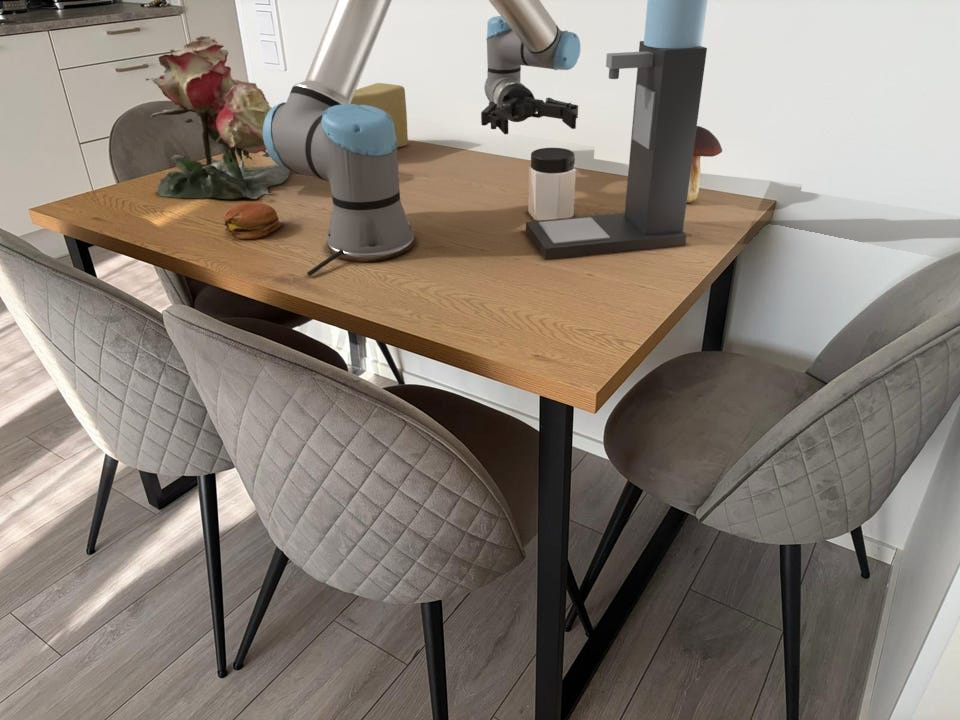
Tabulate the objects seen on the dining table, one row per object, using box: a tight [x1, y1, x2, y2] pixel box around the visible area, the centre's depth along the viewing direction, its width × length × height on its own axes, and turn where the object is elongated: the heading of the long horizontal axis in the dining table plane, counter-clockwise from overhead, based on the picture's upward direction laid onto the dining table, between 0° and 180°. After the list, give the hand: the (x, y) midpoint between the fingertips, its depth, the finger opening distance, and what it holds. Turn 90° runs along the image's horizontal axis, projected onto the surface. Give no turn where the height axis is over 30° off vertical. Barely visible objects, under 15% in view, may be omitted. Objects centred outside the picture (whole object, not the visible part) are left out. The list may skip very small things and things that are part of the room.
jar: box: [527, 147, 577, 221], centre depth 139 cm, size 9×8×12 cm
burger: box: [222, 201, 281, 240], centre depth 137 cm, size 10×9×5 cm
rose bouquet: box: [145, 35, 290, 200], centre depth 157 cm, size 26×29×30 cm
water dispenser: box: [525, 0, 708, 260], centre depth 120 cm, size 26×13×45 cm, turn 102°
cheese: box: [351, 82, 409, 149], centre depth 178 cm, size 22×10×15 cm, turn 146°
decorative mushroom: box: [687, 125, 723, 203], centre depth 143 cm, size 11×11×15 cm
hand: (540, 124), depth 142 cm, fingers open, 13 cm apart
